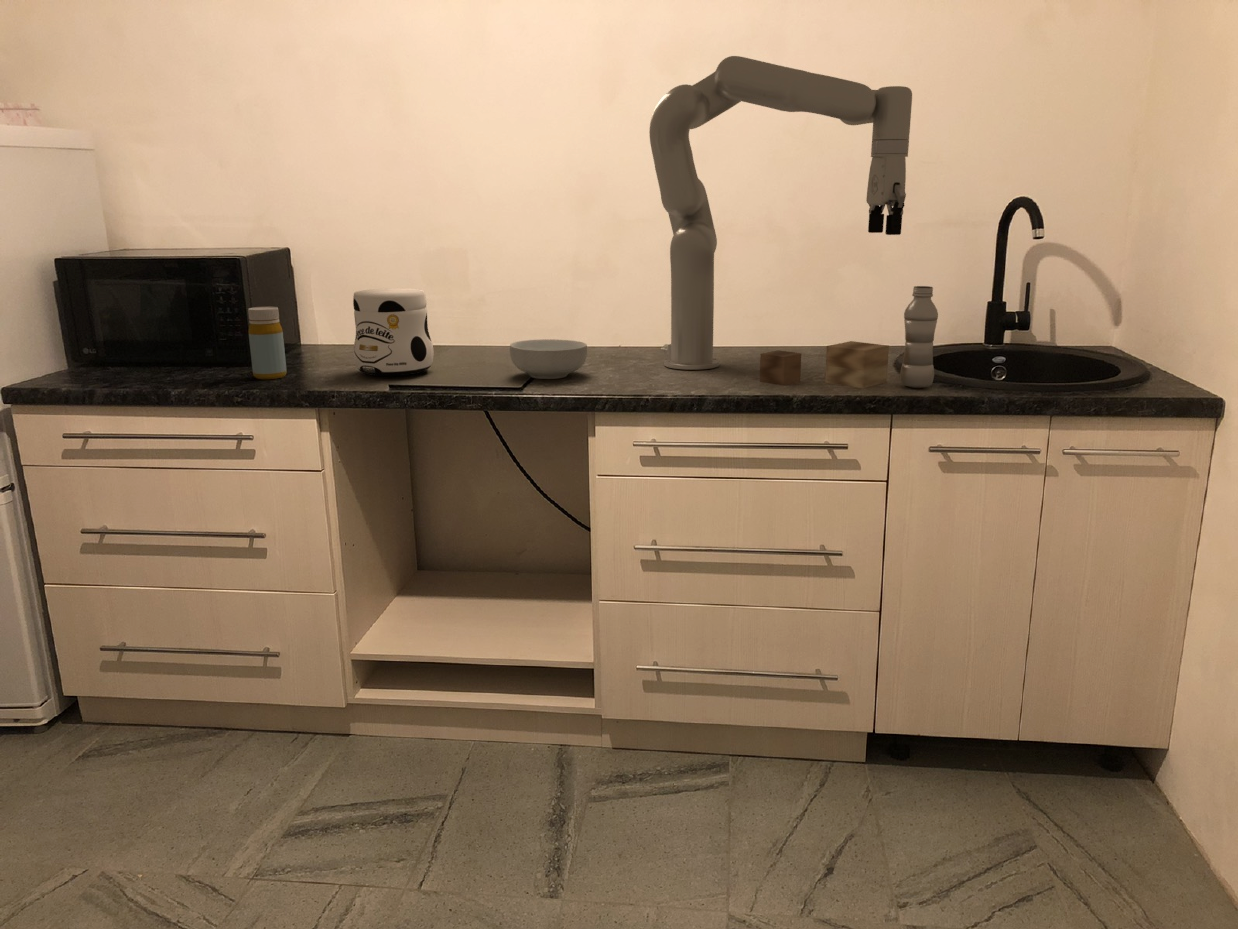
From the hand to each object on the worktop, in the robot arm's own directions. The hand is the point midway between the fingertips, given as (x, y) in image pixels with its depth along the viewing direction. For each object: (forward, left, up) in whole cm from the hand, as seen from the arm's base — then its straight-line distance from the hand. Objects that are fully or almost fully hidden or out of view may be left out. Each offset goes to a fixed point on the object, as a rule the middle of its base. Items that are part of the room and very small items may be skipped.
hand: (884, 233), depth 211 cm
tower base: (+5, -16, -30) cm, 34 cm away
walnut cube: (-7, -26, -29) cm, 40 cm away
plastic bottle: (+17, -13, -30) cm, 36 cm away
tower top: (+5, -16, -26) cm, 31 cm away
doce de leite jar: (-76, -75, -30) cm, 111 cm away
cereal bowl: (-48, -54, -30) cm, 78 cm away
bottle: (-93, -96, -30) cm, 137 cm away
